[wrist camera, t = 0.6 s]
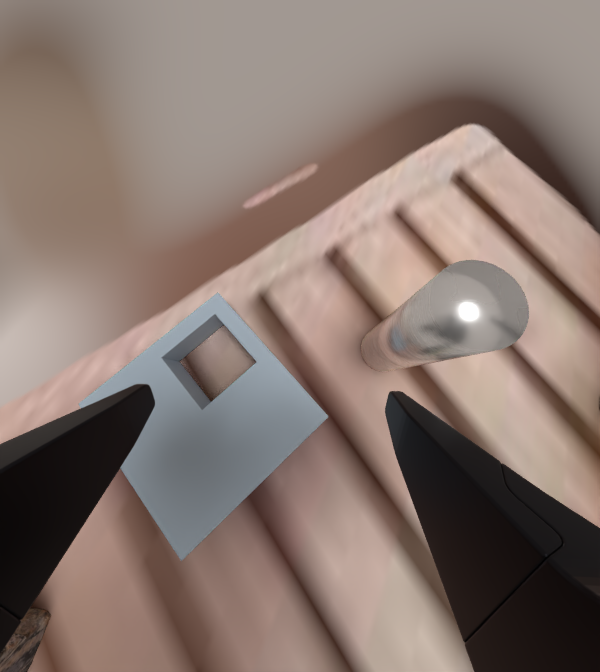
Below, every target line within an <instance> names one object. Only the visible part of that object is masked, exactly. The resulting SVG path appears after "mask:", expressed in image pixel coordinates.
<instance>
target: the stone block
mask: <svg viewBox="0 0 600 672" xmlns="http://www.w3.org/2000/svg"><path fill="white" fill-rule="evenodd" d="M50 617H51V616H50V614H49V612H48V611H46V610H40V609H37V608H35V609H31V608H30V609H29V610H28V612H27V613H26V615H25V616H24V618H23V619H22V620H21V623H20V625H19V626H18V628H17V629H16V631H15V632H14V634H13V636H12V637H11V639H10V640H9V642H8V643H7V645H6V646H5V648H4V650H3V651H2V653H1V654H0V672H27V670H28V668H29V667H30V665H31V663H32V660H33V657H34V655H35V653H36V651H37V648H38V646H39V644H40V641H41V640H42V637H43V634H44V632H45V629H46V627H47V625H48V621H49V619H50Z"/></svg>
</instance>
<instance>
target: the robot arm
mask: <svg viewBox="0 0 600 672" xmlns="http://www.w3.org/2000/svg"><path fill="white" fill-rule="evenodd" d="M154 407H155V399H154V396H153V393H152V390H151V387H150V386H149V385H148V384H135V385H133V386H130V387H128V388H126V389H124V390H121V391H119V392H117V393H115V394H112V395H110V396H108V397H106V398H103V399H101V400H99V401H97V402H94V403H92V404H90V405H88V406H85V407H83V408H81V409H79V410H76V411H74V412H72V413H70V414H67V415H65V416H63V417H61V418H58V419H56V420H54V421H52V422H49V423H47V424H45V425H43V426H40V427H38V428H36V429H34V430H31V431H29V432H27V433H25V434H22V435H20V436H18V437H16V438H13V439H11V440H9V441H6V442H4V443H2V444H0V654H1V653H2V651H3V650H4V648H5V646H6V645H7V643H8V642H9V640H10V639H11V637H12V636H13V634H14V632H15V631H16V629H17V628H18V626H19V625H20V623H21V620H22V619H23V618H24V616H25V615H26V613H27V612H28V610H29V609H30V607H31V606H32V604H33V602H34V601H35V599H36V598H37V596H38V595H39V593H40V592H41V590H42V589H43V587H44V585H45V584H46V582H47V581H48V579H49V578H50V576H51V575H52V573H53V571H54V570H55V568H56V567H57V565H58V564H59V562H60V561H61V559H62V557H63V556H64V554H65V553H66V551H67V550H68V548H69V547H70V545H71V543H72V542H73V540H74V539H75V537H76V536H77V534H78V533H79V531H80V529H81V528H82V526H83V525H84V523H85V522H86V520H87V519H88V517H89V515H90V514H91V512H92V511H93V509H94V508H95V506H96V505H97V503H98V501H99V500H100V498H101V497H102V495H103V494H104V492H105V491H106V489H107V487H108V486H109V484H110V483H111V481H112V480H113V478H114V477H115V475H116V473H117V472H118V470H119V469H120V467H121V466H122V464H123V463H124V461H125V459H126V458H127V456H128V455H129V453H130V452H131V450H132V448H133V447H134V445H135V443H136V441H137V440H138V438H139V436H140V434H141V432H142V430H143V428H144V426H145V424H146V422H147V421H148V419H149V417H150V415H151V413H152V411H153V409H154ZM385 414H386V418H387V422H388V426H389V430H390V435H391V439H392V443H393V447H394V450H395V454H396V457H397V460H398V463H399V466H400V468H401V471H402V474H403V477H404V479H405V482H406V485H407V488H408V490H409V493H410V496H411V499H412V501H413V504H414V507H415V510H416V512H417V515H418V518H419V521H420V523H421V526H422V529H423V532H424V534H425V537H426V540H427V542H428V545H429V548H430V551H431V553H432V556H433V559H434V562H435V564H436V567H437V570H438V573H439V575H440V578H441V581H442V584H443V586H444V589H445V592H446V595H447V597H448V600H449V603H450V606H451V608H452V611H453V614H454V616H455V619H456V622H457V625H458V627H459V630H460V633H461V636H462V638H463V641H464V642H465V647H466V650H467V653H468V655H469V658H470V661H471V664H472V666H473V669H474V672H600V528H599V527H597V526H596V525H594V524H593V523H591V522H589V521H588V520H586V519H585V518H583V517H582V516H580V515H579V514H577V513H575V512H574V511H572V510H571V509H569V508H568V507H566V506H565V505H563V504H562V503H560V502H559V501H557V500H555V499H554V498H552V497H551V496H549V495H548V494H546V493H545V492H543V491H542V490H540V489H539V488H537V487H536V486H535V485H533V484H532V483H530V482H529V481H527V480H526V479H524V478H523V477H521V476H520V475H519V474H517V473H516V472H514V471H513V470H512V469H510V468H509V467H507V466H506V465H504V464H501V463H500V461H499V460H497V459H496V458H494V457H493V456H492V455H490V454H489V453H487V452H486V451H485V450H483V449H482V448H480V447H479V446H478V445H476V444H475V443H473V442H472V441H471V440H469V439H468V438H466V437H465V436H463V435H462V434H461V433H459V432H458V431H456V430H455V429H454V428H452V427H451V426H449V425H448V424H447V423H445V422H444V421H442V420H441V419H440V418H438V417H437V416H435V415H434V414H432V413H431V412H430V411H428V410H427V409H425V408H424V407H423V406H421V405H420V404H418V403H417V402H416V401H414V400H413V399H411V398H410V397H409V396H407V395H406V394H404V393H403V392H400V391H391V392H389V395H388V399H387V403H386V408H385Z"/></svg>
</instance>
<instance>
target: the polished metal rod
mask: <svg viewBox="0 0 600 672" xmlns="http://www.w3.org/2000/svg"><path fill="white" fill-rule="evenodd" d="M528 318H529V308H528V303H527V299H526V296H525V294H524V292H523V290H522V288H521V287H520V285H519V284H518V283H517V282H516V280H515V279H514V278H513V277H512V276H511V275H509V274H508V273H507V272H506V271H504V270H503V269H501V268H499V267H497V266H495V265H493V264H490V263H487V262H483V261H477V260H465V261H460V262H456V263H454V264H451V265H449V266H448V267H446V268H445V269H444V270H442V271H441V272H440V273H439V274H438V275H436V276H435V277H434V278H433V279H432V280H430V281H429V282H428V283H427V284H426V285H425V286H423V287H422V288H421V289H420V290H419V291H417V292H416V293H415V294H414V295H413V296H411V297H410V298H409V299H408V300H407V301H406V302H404V303H403V304H402V305H401V306H400V307H398V308H397V309H396V310H395V311H394V312H393V313H391V314H390V315H389V316H388V317H387V318H385V319H384V320H383V321H382V322H381V323H379V324H378V325H377V326H376V327H375V328H374V329H372V330H371V331H370V332H369V333H368V334H367V335H366V336H365V337H364V338H363V340H362V343H361V354H362V357H363V359H364V361H365V362H366V363H367V365H369V366H370V367H371V368H373V369H374V370H377V371H381V372H387V371H393V370H398V369H403V368H408V367H413V366H418V365H423V364H429V363H434V362H439V361H444V360H449V359H454V358H459V357H464V356H470V355H475V354H480V353H485V352H490V351H495V350H500V349H503V348H506V347H508V346H510V345H511V344H513V343H514V342H516V341H517V340H518V339H519V338H520V337H521V335H522V334H523V332H524V331H525V329H526V326H527V323H528Z"/></svg>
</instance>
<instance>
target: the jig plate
mask: <svg viewBox="0 0 600 672" xmlns="http://www.w3.org/2000/svg"><path fill="white" fill-rule="evenodd" d="M223 325H225V326H226V327H227V328H228V329H229V331H230V332H231V333H232V334H233V335H234V336H235V337H236V339H237V340H238V341H239V342H240V343H241V344H242V346H243V347H244V348H245V349H246V350H247V351H248V352H249V354H250V355H251V356H252V357H253V358H254V359H255V361H256V363H255V364H254V365H253V366H252V367H250V368H249V369H248V370H247V371H246V372H245V373H244V374H243V375H241V376H240V377H239V378H238V379H237V380H236V381H235V382H233V383H232V384H231V385H230V386H229V387H228V388H227V389H225V390H224V391H223V392H222V393H221V394H220V395H219V396H218V397H216V398H215V399H214V400H213V401H212V402H211V401H210V400H209V399H208V397H207V396H206V395H205V394H204V392H203V391H202V390H201V389H200V387H199V386H198V385H197V383H196V382H195V381H194V380H193V378H192V377H191V376H190V375H189V373H188V372H187V371H186V369H185V368H184V367H183V366H182V364H181V363H180V362H179V361H180V360H182V359H183V358H184V357H185V356H186V355H188V354H189V353H190V352H191V351H192V350H194V349H195V348H196V347H197V346H198V345H200V344H201V343H202V342H203V341H204V340H206V339H207V338H208V337H209V336H211V335H212V334H213V333H214V332H215V331H217V330H218V329H219V328H220V327H221V326H223ZM135 384H148V385H149V386H150V387H151V390H152V393H153V396H154V399H155V407H154V409H153V411H152V413H151V415H150V417H149V419H148V421H147V422H146V424H145V426H144V428H143V430H142V432H141V434H140V436H139V438H138V440H137V441H136V443H135V445H134V447H133V448H132V450H131V452H130V453H129V455H128V456H127V458H126V459H125V461H124V463H123V464H122V466H121V467H120V468H121V470H122V471H123V473H124V474H125V476H126V477H127V479H128V480H129V482H130V484H131V485H132V487H133V488H134V490H135V491H136V493H137V494H138V496H139V497H140V499H141V500H142V502H143V503H144V505H145V506H146V508H147V509H148V511H149V512H150V514H151V516H152V517H153V519H154V520H155V522H156V523H157V525H158V526H159V528H160V529H161V531H162V532H163V534H164V535H165V537H166V538H167V540H168V541H169V543H170V545H171V546H172V548H173V549H174V551H175V552H176V554H177V555H178V557H179V558H180V560H181V561H182V560H183V559H184V558H185V557H186V556H187V555H188V554H189V553H190V552H191V551H192V550H193V549H194V548H195V547H196V546H197V545H198V544H199V543H200V542H201V541H202V540H203V539H204V538H205V537H206V536H208V535H209V534H210V533H211V532H212V531H213V530H214V529H215V528H216V527H217V526H218V525H219V524H220V523H221V522H222V521H223V520H224V519H225V518H226V517H227V516H228V515H229V514H230V513H231V512H232V511H233V510H234V509H235V508H236V507H237V506H238V505H239V504H240V503H241V502H242V501H243V500H244V499H245V498H246V497H247V496H248V495H249V494H250V493H251V492H252V491H253V490H254V489H255V488H256V487H257V486H258V485H260V484H261V483H262V482H263V481H264V480H265V479H266V478H267V477H268V476H269V475H270V474H271V473H272V472H273V471H274V470H275V469H276V468H277V467H278V466H279V465H280V464H281V463H282V462H283V461H284V460H285V459H286V458H287V457H288V456H289V455H290V454H291V453H292V452H293V451H294V450H295V449H296V448H297V447H298V446H299V445H300V444H301V443H302V442H303V441H304V440H305V439H306V438H307V437H308V436H309V435H310V434H312V433H313V432H314V431H315V430H316V429H317V428H318V427H319V426H320V425H321V424H322V423H323V422H324V421H325V420H326V419H327V418H328V415H327V414H326V413H325V412H324V411H323V410H322V409H321V408H320V406H319V405H318V404H317V403H316V402H315V401H314V400H313V399H312V397H311V396H310V395H309V394H308V393H307V392H306V391H305V390H304V388H303V387H302V386H301V385H300V384H299V383H298V382H297V381H296V380H295V378H294V377H293V376H292V375H291V374H290V373H289V372H288V371H287V369H286V368H285V367H284V366H283V365H282V364H281V363H280V362H279V360H278V359H277V358H276V357H275V356H274V355H273V354H272V353H271V351H270V350H269V349H268V348H267V347H266V346H265V345H264V344H263V342H262V341H261V340H260V339H259V338H258V337H257V336H256V335H255V333H254V332H253V331H252V330H251V329H250V328H249V327H248V326H247V324H246V323H245V322H244V321H243V320H242V319H241V318H240V317H239V315H238V314H237V313H236V312H235V311H234V310H233V309H232V308H231V306H230V305H229V304H228V303H227V302H226V301H225V300H224V299H223V298H222V296H221V295H220V294H219V293H216V294H215V295H214V296H213V297H211V298H210V299H209V300H208V301H206V302H205V303H204V304H203V305H201V306H200V307H199V308H198V309H196V310H195V311H194V312H193V313H191V314H190V315H189V316H188V317H186V318H185V319H184V320H183V321H181V322H180V323H179V324H178V325H176V326H175V327H174V328H173V329H171V330H170V331H169V332H168V333H166V334H165V335H164V336H163V337H161V338H160V339H159V340H158V341H156V342H155V343H154V344H153V345H151V346H150V347H149V348H148V349H146V350H145V351H144V352H143V353H141V354H140V355H139V356H138V357H136V358H135V359H134V360H133V361H131V362H130V363H129V364H128V365H126V366H125V367H124V368H123V369H121V370H120V371H119V372H118V373H116V374H115V375H114V376H113V377H111V378H110V379H109V380H108V381H106V382H105V383H104V384H103V385H101V386H100V387H99V388H98V389H96V390H95V391H94V392H93V393H91V394H90V395H89V396H88V397H86V398H85V399H84V400H83V401H81V402H80V403H79V406H80V407H81V408H83V407H85V406H88V405H90V404H92V403H94V402H97V401H99V400H101V399H103V398H106V397H108V396H110V395H112V394H115V393H117V392H119V391H121V390H124V389H126V388H128V387H130V386H133V385H135Z"/></svg>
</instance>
